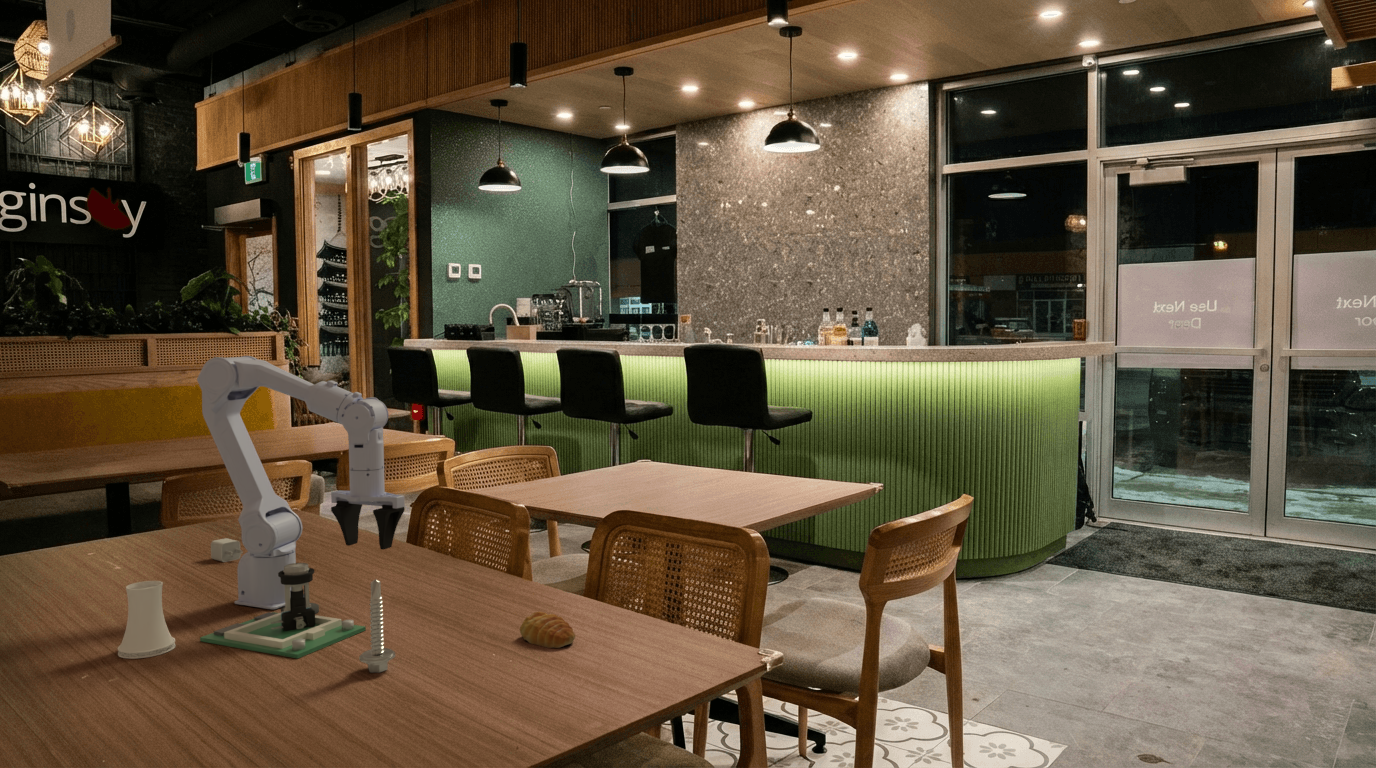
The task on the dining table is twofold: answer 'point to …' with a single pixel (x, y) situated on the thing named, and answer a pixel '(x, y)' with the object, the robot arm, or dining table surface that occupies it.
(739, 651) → the dining table surface
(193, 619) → the dining table surface
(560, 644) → the pastry
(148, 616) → the cooling tower
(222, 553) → the usb wall charger
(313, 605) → the dark gray round disc
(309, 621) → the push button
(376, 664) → the screw
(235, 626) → the circuit board
